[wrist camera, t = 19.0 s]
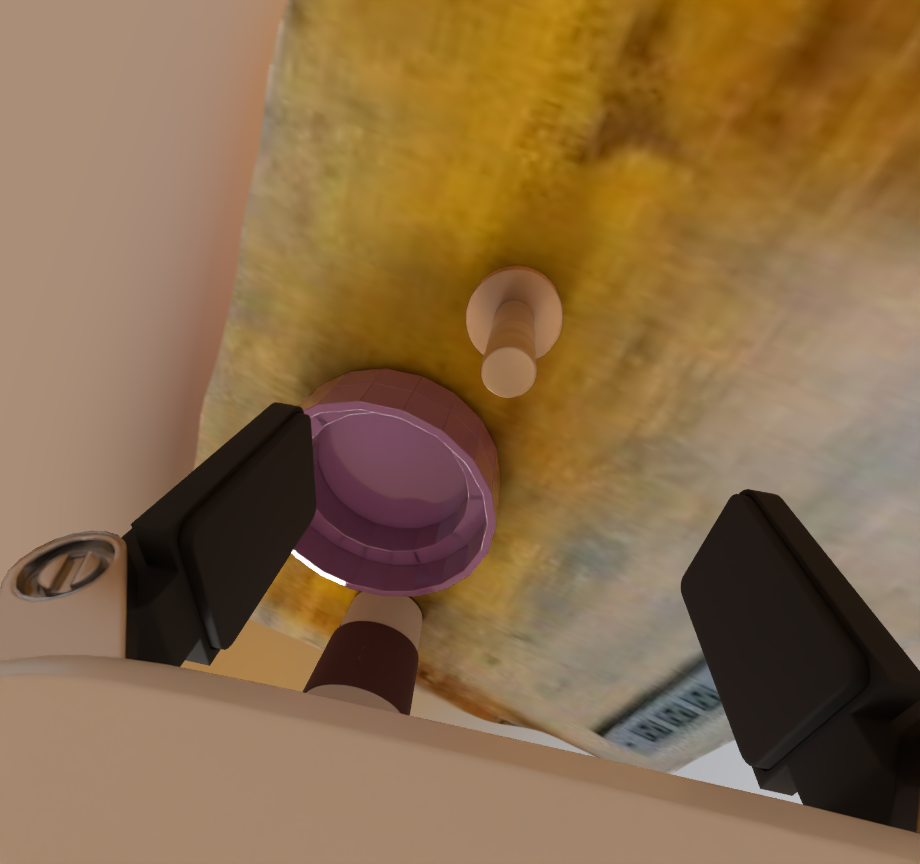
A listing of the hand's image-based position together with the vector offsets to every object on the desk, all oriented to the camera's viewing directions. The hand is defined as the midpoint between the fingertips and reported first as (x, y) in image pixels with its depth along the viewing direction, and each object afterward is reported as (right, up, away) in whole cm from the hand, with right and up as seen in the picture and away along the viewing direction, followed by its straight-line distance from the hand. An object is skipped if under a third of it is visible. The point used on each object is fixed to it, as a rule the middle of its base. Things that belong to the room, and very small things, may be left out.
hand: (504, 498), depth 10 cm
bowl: (-6, -1, +24) cm, 24 cm away
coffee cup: (-8, -16, +33) cm, 38 cm away
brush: (+2, +9, +17) cm, 19 cm away
